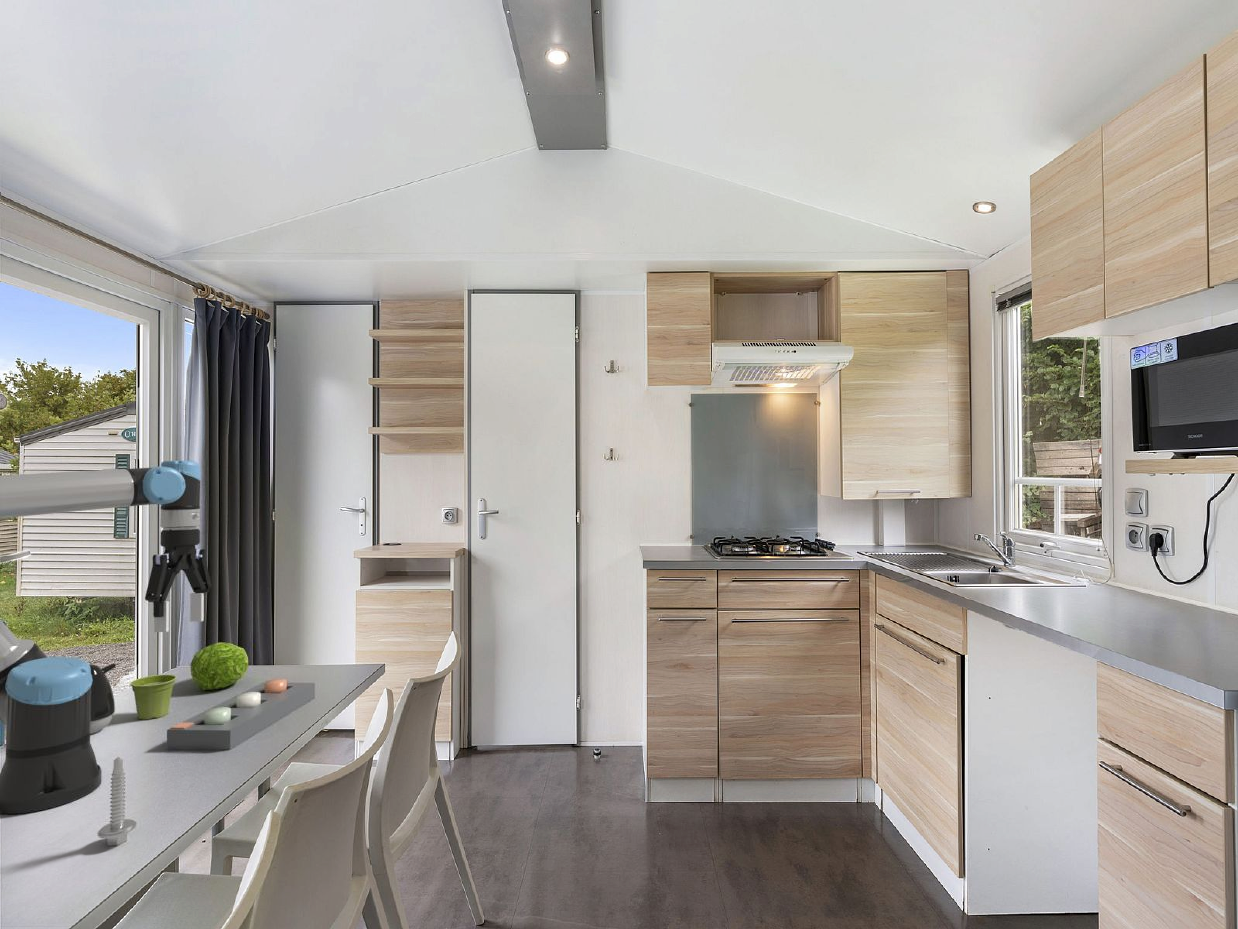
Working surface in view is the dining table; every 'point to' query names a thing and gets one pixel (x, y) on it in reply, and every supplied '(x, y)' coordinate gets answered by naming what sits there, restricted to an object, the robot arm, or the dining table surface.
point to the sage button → (217, 716)
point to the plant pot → (153, 695)
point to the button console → (239, 719)
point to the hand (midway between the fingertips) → (179, 626)
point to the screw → (117, 810)
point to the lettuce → (218, 666)
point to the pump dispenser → (101, 698)
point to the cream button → (248, 700)
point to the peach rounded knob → (275, 686)
